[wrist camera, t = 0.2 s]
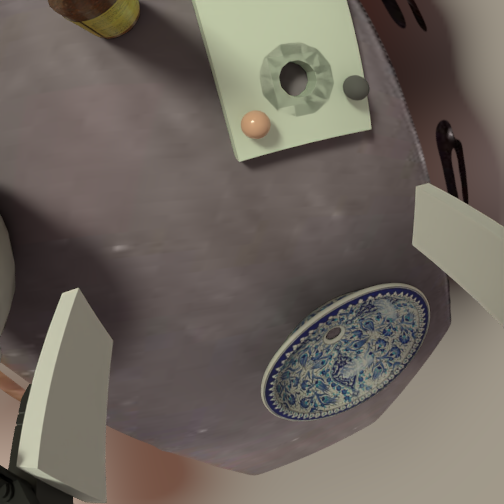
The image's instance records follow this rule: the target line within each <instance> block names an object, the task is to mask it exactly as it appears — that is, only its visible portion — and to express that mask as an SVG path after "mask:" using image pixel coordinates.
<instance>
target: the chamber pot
mask: <svg viewBox="0 0 504 504" xmlns="http://www.w3.org/2000/svg"><path fill="white" fill-rule="evenodd" d="M14 292H15V264H14V257H13V250H12V246H11V242H10V237H9V233H8V230H7V227H6V225H5V223H4V221H3V219H2V217H1V214H0V337H1V335H2V332H3V330H4V328H5V326H6V322H7V318H8V315H9V311H10V308H11V303H12V299H13V295H14ZM1 356H2V352H1V348H0V361H1Z"/></svg>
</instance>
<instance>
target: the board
mask: <svg viewBox="0 0 504 504" xmlns="http://www.w3.org/2000/svg"><path fill="white" fill-rule="evenodd" d="M192 3H193V7H194V10H195V14H196V17H197V21H198V24H199V28H200V31H201V35H202V38H203V42H204V46H205V49H206V53H207V56H208V60H209V63H210V67H211V71H212V74H213V78H214V81H215V85H216V89H217V92H218V96H219V100H220V103H221V107H222V110H223V114H224V118H225V121H226V125H227V129H228V132H229V136H230V140H231V143H232V147H233V151H234V154H235V158H236V159H237V160H238V161H239V162H241V161H244V160H248V159H251V158H254V157H258V156H261V155H265V154H269V153H272V152H276V151H280V150H283V149H287V148H291V147H295V146H299V145H303V144H307V143H311V142H315V141H319V140H324V139H328V138H332V137H337V136H341V135H346V134H351V133H355V132H360V131H365V130H370V129H372V128H371V120H370V113H369V105H368V99H367V96H366V98H364V99H362V100H358V101H357V100H352V99H350V98H348V97H347V96H346V95H345V93H344V91H343V83H344V81H345V79H346V78H347V77H349V76H352V75H358V76H361V77H363V78H364V74H363V69H362V64H361V59H360V54H359V49H358V44H357V40H356V35H355V31H354V27H353V23H352V19H351V15H350V11H349V7H348V4H347V0H192ZM288 62H293V63H296V64H299V65H300V66H301V67H302V68H303V69H304V70H305V71H306V74H307V78H308V83H307V86H306V89H305V90H304V91H303V92H302V93H301V94H300V95H298V96H291V95H288V94H287V93H286V92H285V91H284V90H283V88H282V87H281V84H280V80H279V75H280V72H281V69H282V67H283V66H284V65H286V64H287V63H288ZM253 110H258V111H262V112H264V113H265V114H266V115H267V116H268V117H269V119H270V122H271V127H270V131H269V132H268V134H267V135H266V136H264V137H263V138H260V139H251V138H249V137H247V136H246V135H245V134H244V133H243V132H242V130H241V120H242V118H243V116H244V115H245V114H246V113H248V112H250V111H253Z"/></svg>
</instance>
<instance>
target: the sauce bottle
mask: <svg viewBox="0 0 504 504" xmlns="http://www.w3.org/2000/svg"><path fill="white" fill-rule="evenodd" d="M48 2H49V5H50V7H51V8H52V9H53V10H54V11H55V12H57V13H59V14H61V15H62V16H63V17H64V18H66V19H67V20H69V21H71V22H73V23H74V24H76V25H78V26H80V27H82V28H83V29H85V30H87V31H89V32H90V33H92V34H94V35H96V36H98V37H104V38H108V39H109V38H115V37H119V36H120V35H123V34H125V33H126V32H128V31H129V30H131V28H132V27H133V26H134V25H135V23H136V22H137V20H138V18H139V15H140V9H139V1H138V0H48Z"/></svg>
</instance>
